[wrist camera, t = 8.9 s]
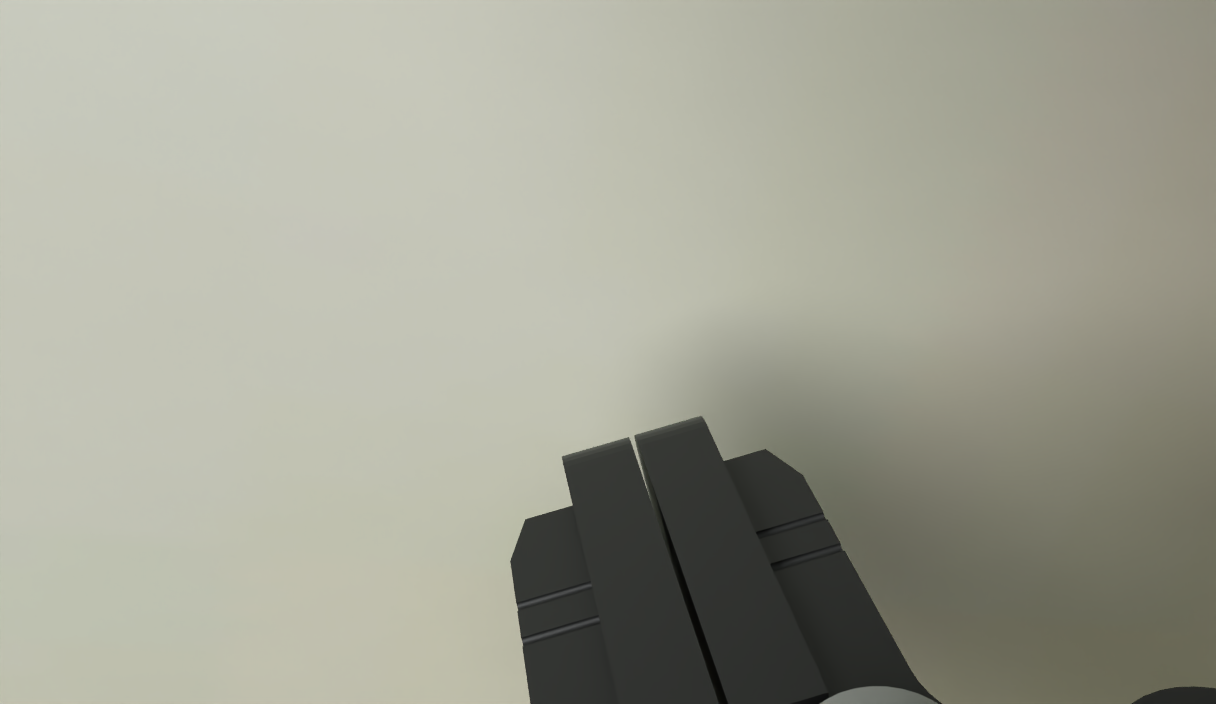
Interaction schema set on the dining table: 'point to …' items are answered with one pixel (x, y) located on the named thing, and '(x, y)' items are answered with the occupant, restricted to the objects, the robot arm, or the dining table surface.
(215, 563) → the dining table surface
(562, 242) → the dining table surface
